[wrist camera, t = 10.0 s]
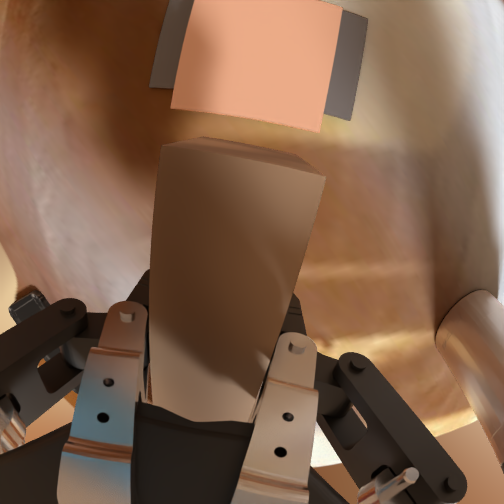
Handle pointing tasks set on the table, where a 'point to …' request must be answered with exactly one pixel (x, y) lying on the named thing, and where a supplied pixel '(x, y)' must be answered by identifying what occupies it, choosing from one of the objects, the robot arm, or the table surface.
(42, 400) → the robot arm
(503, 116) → the table surface
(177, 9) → the mat
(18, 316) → the phone
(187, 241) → the bar
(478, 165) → the table surface
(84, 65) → the table surface
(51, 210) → the table surface
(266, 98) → the tile
